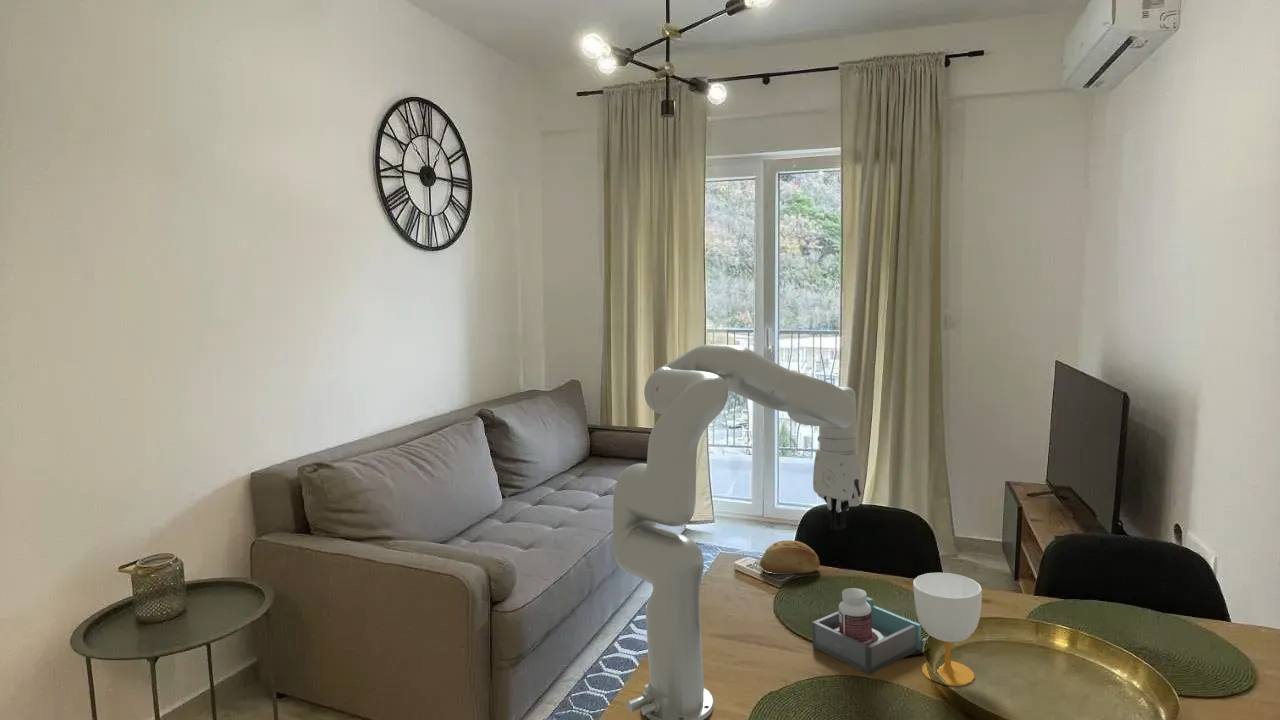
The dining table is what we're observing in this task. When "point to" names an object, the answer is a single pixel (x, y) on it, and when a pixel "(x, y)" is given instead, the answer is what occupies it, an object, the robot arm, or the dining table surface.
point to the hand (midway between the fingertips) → (838, 528)
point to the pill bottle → (855, 615)
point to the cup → (948, 617)
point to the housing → (863, 645)
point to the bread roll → (789, 558)
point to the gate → (892, 622)
